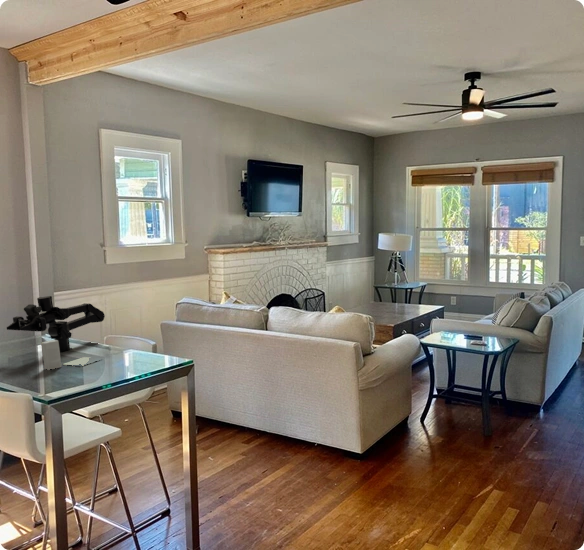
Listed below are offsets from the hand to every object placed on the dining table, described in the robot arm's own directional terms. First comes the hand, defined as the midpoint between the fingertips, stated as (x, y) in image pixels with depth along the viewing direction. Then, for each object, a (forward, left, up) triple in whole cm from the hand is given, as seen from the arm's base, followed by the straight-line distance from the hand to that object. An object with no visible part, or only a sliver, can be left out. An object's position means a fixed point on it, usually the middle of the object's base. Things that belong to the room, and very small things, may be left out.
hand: (13, 328), depth 247 cm
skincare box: (-1, +22, -17) cm, 28 cm away
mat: (-12, +28, -17) cm, 35 cm away
